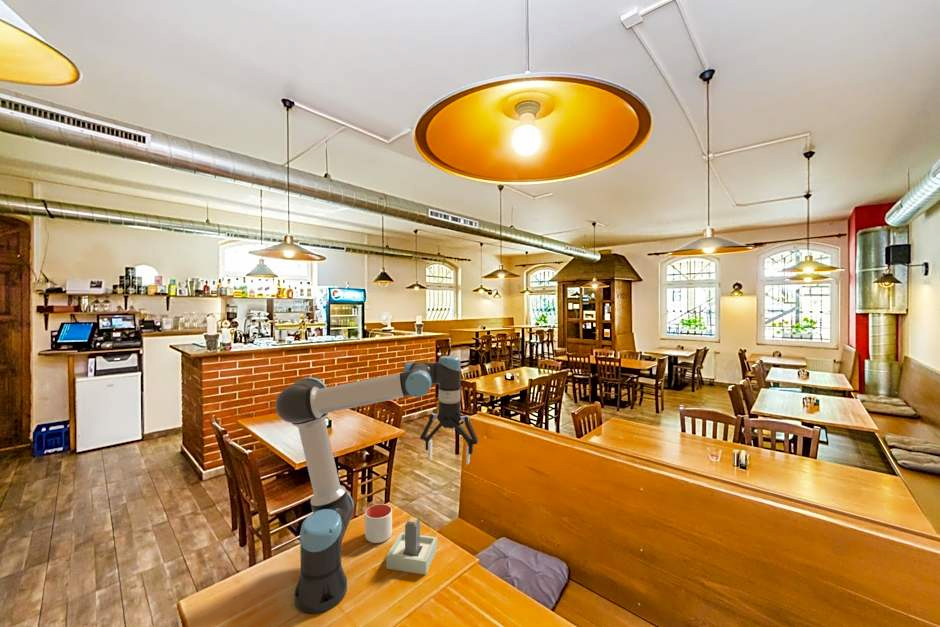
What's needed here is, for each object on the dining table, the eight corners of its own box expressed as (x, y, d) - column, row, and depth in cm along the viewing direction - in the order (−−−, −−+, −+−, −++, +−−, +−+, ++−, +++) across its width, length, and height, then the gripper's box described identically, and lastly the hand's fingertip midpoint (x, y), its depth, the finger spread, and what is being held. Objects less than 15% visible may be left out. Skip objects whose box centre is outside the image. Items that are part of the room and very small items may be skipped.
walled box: (386, 568, 128) (386, 555, 128) (400, 544, 140) (400, 532, 140) (425, 574, 125) (426, 561, 125) (437, 549, 138) (437, 537, 138)
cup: (397, 534, 146) (397, 508, 146) (378, 548, 138) (378, 521, 138) (378, 525, 152) (378, 501, 151) (359, 538, 143) (359, 513, 143)
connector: (404, 561, 131) (405, 522, 131) (409, 554, 135) (409, 515, 135) (415, 563, 130) (416, 523, 130) (419, 555, 134) (420, 517, 134)
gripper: (411, 401, 130) (411, 462, 131) (483, 406, 125) (482, 469, 126) (418, 395, 137) (418, 453, 138) (486, 400, 132) (485, 459, 133)
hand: (448, 461), depth 132 cm, fingers open, 13 cm apart
